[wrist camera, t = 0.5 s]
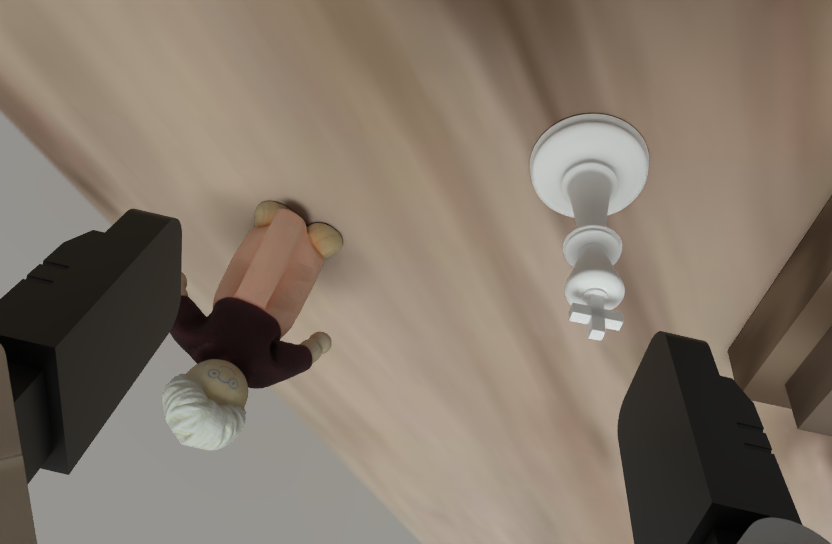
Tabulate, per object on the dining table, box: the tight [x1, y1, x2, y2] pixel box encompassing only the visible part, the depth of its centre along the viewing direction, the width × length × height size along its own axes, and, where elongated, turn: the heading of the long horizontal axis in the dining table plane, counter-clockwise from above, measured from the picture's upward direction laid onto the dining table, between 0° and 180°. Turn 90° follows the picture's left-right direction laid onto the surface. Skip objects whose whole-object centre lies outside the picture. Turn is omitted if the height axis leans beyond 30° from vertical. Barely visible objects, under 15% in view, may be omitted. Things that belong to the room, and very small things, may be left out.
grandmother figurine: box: [162, 201, 343, 450], centre depth 31 cm, size 8×4×13 cm, turn 74°
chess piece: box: [530, 114, 649, 341], centre depth 27 cm, size 5×5×10 cm
